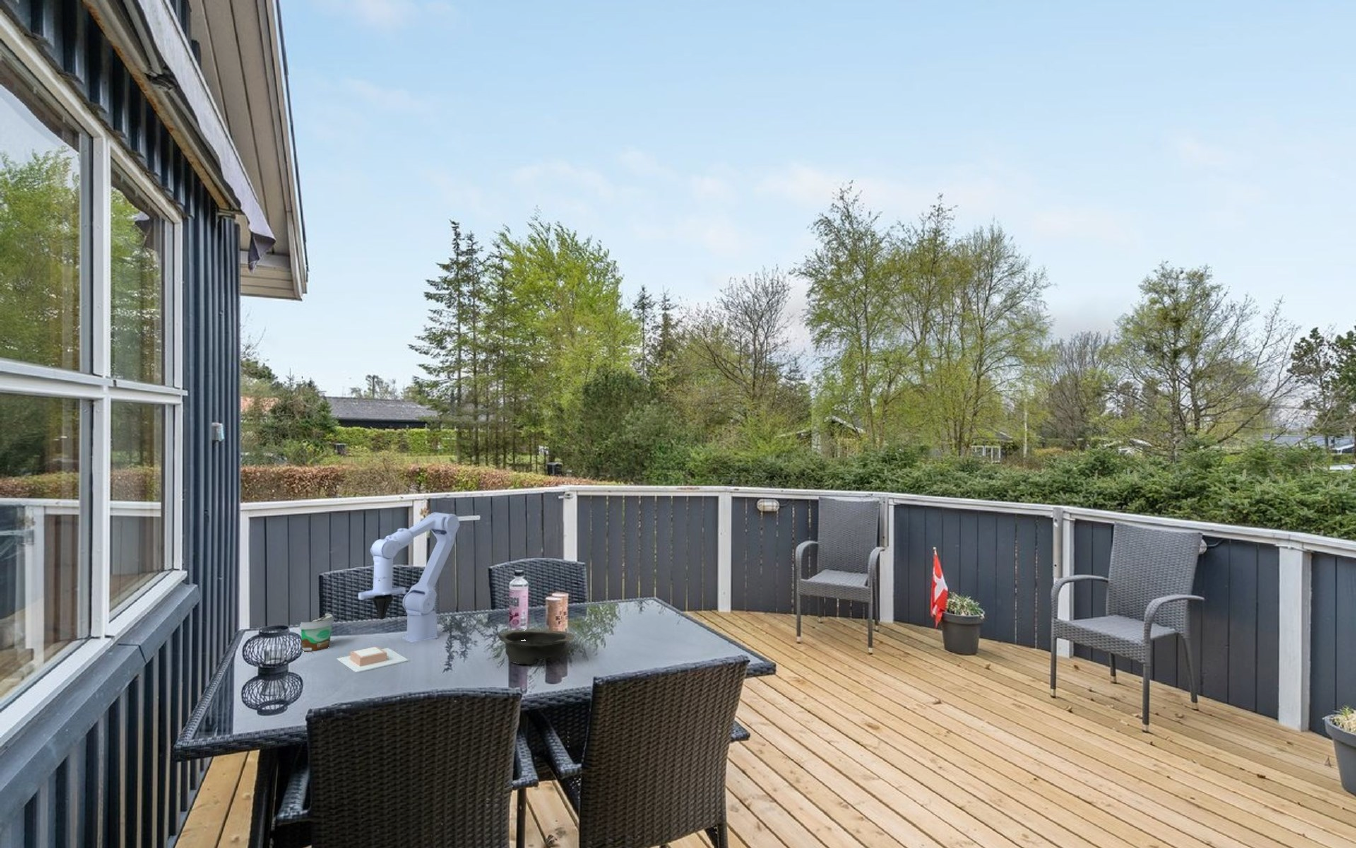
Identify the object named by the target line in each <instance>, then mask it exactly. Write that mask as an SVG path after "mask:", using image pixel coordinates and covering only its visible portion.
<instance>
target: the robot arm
mask: <svg viewBox="0 0 1356 848" xmlns="http://www.w3.org/2000/svg"><path fill="white" fill-rule="evenodd" d="M460 526H461V524H460V521H459V517H458V516H457V515H456V513H455V514H454V513H446V512H445V513H444V512H436V511H434V512H432V513H430V514H427V515H426V517H425V518H424V519H422V520H420V521H419V522H417V523H416V524H415V525H412V526H411V527H409V528H405V527H403V528H401V527H399V528H398V529H397V530H396V532H393V533H392V534H390V535H389V534H388V535H387V536H385V538H384V539H383V538H382V539H381V538H380V539H377V540H375V541H374V542H373V544H372V545H371V548H370V549H369V550H370V555H372V557H373V558H372V561H373V582H372V583H373V584H372V586H373V587H372V589H370V590H365V591H361V592H360V591H359V592H358V593H357V594H358V597H357V598H358V600H360V601H361V600H363V601H364V600H365V599H366V600H367V599H371V600H372V602H373V604H374V607H375V611H376V614H377V619H378V620H385V619H386V616H387V612H388V609H389V607H390V605H391V603H392V601H393V600H394V595H400V594H401V595H404V596H403V599H402V607H403V608H404V610H405V612H406V614H407V616H406V617H407V618H406V635H403V636H402V637H401V638H402V639H403V640H405V641H408V642H409V643H412V644H413V643H419V642H423V641H427V640H433V639H438V638H439V636H438V615H437V613H436V611H435V610H434V608H435V606H436V598H437V595H438V594H437V592H436V590H435V587H436V583H437V582H438V579H439V578H440V576H441V572H443V571H442V570H443V568H444V566H445V564H446V561H447V560H448V557H449V555H450V553H451V551H452V548H453V545H454V544H455V540H456V534H457V532H458V530H459V528H460ZM428 531H431V533H432V534H433V535H434V537H435V538H436V544H435V546H434V548H433V550H432V553H431V555H430V557H429V559H428V561H427V563H426V566H425V567H424V570H423V572H422V574H421V576H420V579H419V581H418V582H417V583H415V584H414V585H411V587H410V589H409V591H408V592H406V591H407V590H406V587H404V586H400V587H399V586H398V587H393V575H394V574H393V573H394V571H393V570H394V557H396V555H397V554H398V552H399V551H401V550H402V549H404V548H406V547H407V546H409V545H411V544H412V543H413V542H414V541H413V540H414V538H416V537H418V536H420V535H422V534H424V533H426V532H428Z"/></svg>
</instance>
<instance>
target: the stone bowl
mask: <svg viewBox="0 0 1356 848" xmlns="http://www.w3.org/2000/svg"><path fill="white" fill-rule="evenodd" d="M522 630H523V629H512V630H507V631H504V632H502V633H500V634H498V633H496V635H497V638H498V640H500V641H501V642H504V644H505V655H506V656H507V658H508V661H509V663H511V662H516V663H519V664H522V665H524V664H525V665H533V664H536V663H537V662H538V660H541V661H543V660H546V661H547V662H550V663H551V662H556V660H557V661H558V660H559V659H560V658H561V656H562V655H563V652H564V650H565V647H566V643H567V642H568V643H570V642H573V641H574V640H575V637H576V636H575V635H574V633H571V632H568V631H562V630H556V631H550V630H551V629H540V628H539V629H538V628H535V629H534V628H532V629H530V628H529V629H526V630H525V629H524V630H525V631H522ZM524 639H525V640H526V641H521V640H524Z"/></svg>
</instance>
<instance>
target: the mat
mask: <svg viewBox="0 0 1356 848" xmlns="http://www.w3.org/2000/svg"><path fill="white" fill-rule="evenodd" d="M379 648H380V649H382V650H383V651H385V652H387V661H383V662H378V663H374V664H369V665H365V666H358V665H357V664H356V663H354V662H353V661H351V660H350V653H349V654H344V655H341V656H335V657H334V658H335V659H336V660H338V661H339V662H340V663H342V664H343V665H345V666H346V667H348V668H349V669H350V670H352V671H353V672H355V673H356V674H360V673H364V672H368V671H373V670H376V669H381V668H385V667H390V666H394V665H399V664H400V665H401V664H404V663H409V662H411V660H410V659H407V658H406V657H404V656H402V655H401V654H399V653H398V652H396V651H394V650H393V649H390V648H389V647H388V646H384V647H379Z"/></svg>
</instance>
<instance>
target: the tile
mask: <svg viewBox="0 0 1356 848" xmlns="http://www.w3.org/2000/svg"><path fill="white" fill-rule="evenodd" d="M380 648H381V647H378V646H373V647H372V646H371V647H367V648H363V649H358V650H352V651H350V653H349V654H350V660H351V661H353V662H354V663H356V664H357V665H358V666H365V665H369V664H374V663H378V662H383V661H387V652H385V651H383V650H382V649H380Z"/></svg>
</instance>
